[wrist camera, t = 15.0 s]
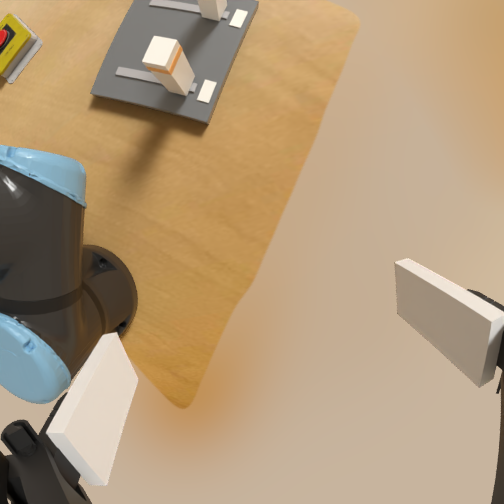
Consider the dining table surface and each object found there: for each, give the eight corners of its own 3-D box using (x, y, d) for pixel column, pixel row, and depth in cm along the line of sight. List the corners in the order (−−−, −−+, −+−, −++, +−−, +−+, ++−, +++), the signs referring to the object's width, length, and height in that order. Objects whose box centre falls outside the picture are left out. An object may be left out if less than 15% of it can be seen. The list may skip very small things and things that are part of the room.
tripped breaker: (195, 75, 36) (177, 39, 24) (187, 96, 37) (165, 66, 25) (177, 71, 36) (153, 35, 24) (168, 91, 36) (141, 61, 25)
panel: (258, 7, 36) (258, 0, 34) (208, 124, 40) (206, 121, 38) (148, -13, 34) (144, -20, 32) (96, 96, 38) (89, 93, 36)
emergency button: (3, 6, 29) (32, 36, 32) (15, 13, 33) (46, 44, 36) (-27, 46, 30) (-2, 81, 33) (-14, 51, 34) (13, 86, 37)
